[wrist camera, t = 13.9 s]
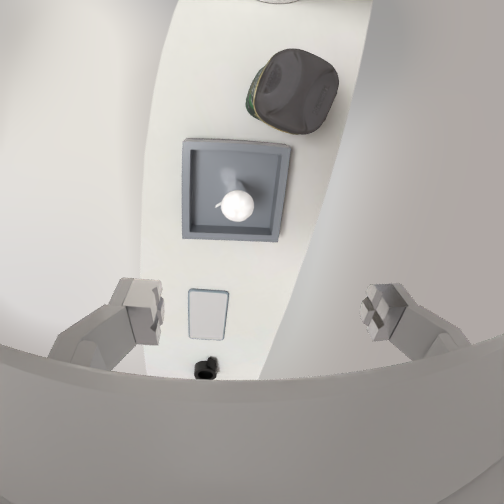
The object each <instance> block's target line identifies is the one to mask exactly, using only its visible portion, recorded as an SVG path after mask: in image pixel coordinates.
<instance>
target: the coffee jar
mask: <svg viewBox="0 0 504 504" xmlns="http://www.w3.org/2000/svg"><path fill="white" fill-rule="evenodd" d="M338 85H339V79H338V75H337V72H336V70H335V69H334V67H333V66H332V65H331V64H330V63H328V62H327V61H325V60H323V59H322V58H320V57H318V56H316V55H314V54H311V53H309V52H306V51H304V50H300V49H285V50H282V51H280V52H278V53H276V54H275V55H273V57H272V58H271V59H270V60H269V61H268V63H267V64H266V65H265V66H264V67H263V68H261V69H260V70H259V72H258V73H257V75H256V76H255V78H254V80H253V82H252V84H251V86H250V89H249V91H248V95H247V98H246V108H247V111H248V112H249V113H250V115H252V116H253V117H255V118H256V119H258V120H261V121H263V122H264V123H266V124H267V125H269V126H271V127H273V128H275V129H277V130H280V131H282V132H285V133H289V134H295V135H298V134H309V133H312V132H314V131H315V130H317V129H318V128H319V127H320V126H321V125H322V123H323V122H324V121H325V119H326V117H327V114H328V112H329V110H330V108H331V105H332V103H333V101H334V98H335V96H336V94H337V90H338Z"/></svg>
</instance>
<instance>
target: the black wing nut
mask: <svg viewBox="0 0 504 504" xmlns="http://www.w3.org/2000/svg"><path fill="white" fill-rule="evenodd" d="M194 376H195V378H196V379H200V380H213V379H215V378H216V361H215V360H213V359H211V358H208V360H207V361H200V362H198V363H196V364H195V371H194Z"/></svg>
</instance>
